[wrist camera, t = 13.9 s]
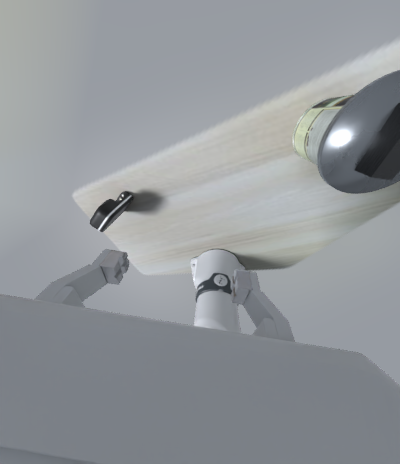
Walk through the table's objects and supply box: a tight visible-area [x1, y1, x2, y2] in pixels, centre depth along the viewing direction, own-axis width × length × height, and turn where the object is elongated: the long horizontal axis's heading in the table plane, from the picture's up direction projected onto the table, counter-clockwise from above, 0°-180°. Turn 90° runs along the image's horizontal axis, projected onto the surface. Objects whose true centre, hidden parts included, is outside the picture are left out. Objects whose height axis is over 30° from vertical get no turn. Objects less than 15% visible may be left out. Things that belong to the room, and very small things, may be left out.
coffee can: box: [292, 95, 354, 165], centre depth 26 cm, size 10×10×14 cm
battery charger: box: [90, 192, 133, 232], centre depth 41 cm, size 7×4×11 cm, turn 137°
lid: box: [317, 70, 400, 193], centre depth 19 cm, size 13×13×4 cm
